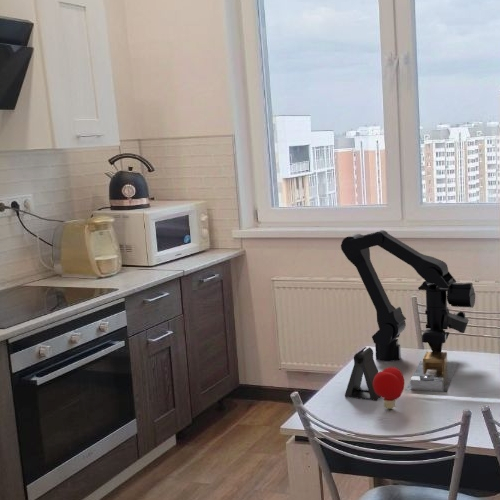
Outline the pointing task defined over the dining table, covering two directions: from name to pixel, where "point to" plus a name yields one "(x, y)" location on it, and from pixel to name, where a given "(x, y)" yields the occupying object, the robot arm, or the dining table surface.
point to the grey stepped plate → (432, 378)
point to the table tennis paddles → (389, 386)
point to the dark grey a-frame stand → (366, 366)
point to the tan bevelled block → (435, 360)
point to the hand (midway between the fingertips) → (438, 358)
